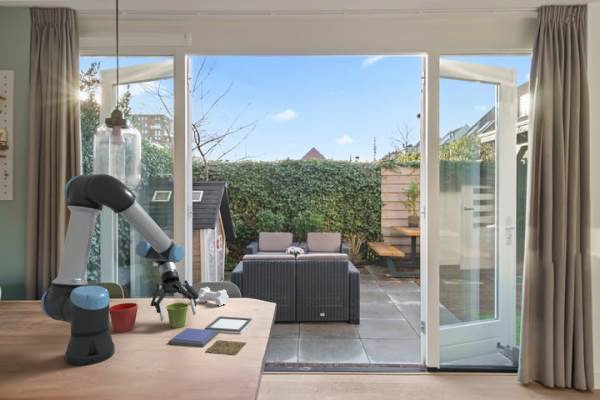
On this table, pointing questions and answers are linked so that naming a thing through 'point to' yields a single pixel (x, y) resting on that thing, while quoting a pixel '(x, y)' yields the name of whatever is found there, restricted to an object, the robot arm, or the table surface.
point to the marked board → (230, 324)
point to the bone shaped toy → (213, 296)
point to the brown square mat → (225, 347)
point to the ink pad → (194, 337)
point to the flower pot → (123, 316)
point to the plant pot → (177, 314)
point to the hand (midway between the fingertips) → (179, 316)
